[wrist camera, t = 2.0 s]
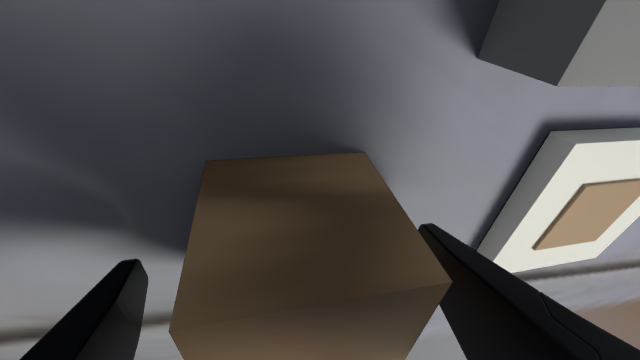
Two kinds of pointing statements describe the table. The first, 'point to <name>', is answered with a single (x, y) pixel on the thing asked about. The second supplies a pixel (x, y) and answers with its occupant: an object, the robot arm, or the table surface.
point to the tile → (569, 200)
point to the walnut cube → (302, 264)
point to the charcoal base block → (567, 41)
